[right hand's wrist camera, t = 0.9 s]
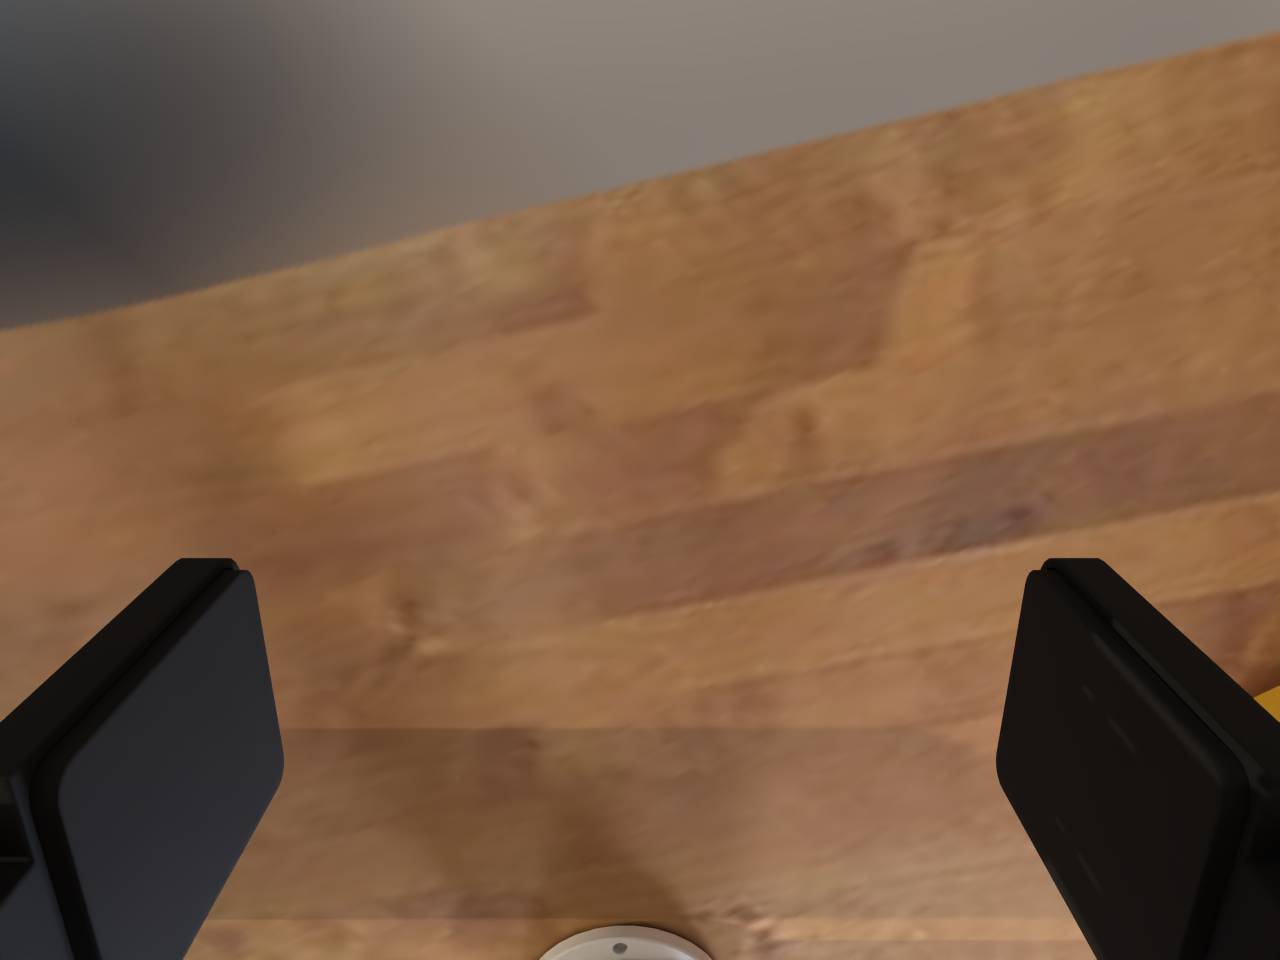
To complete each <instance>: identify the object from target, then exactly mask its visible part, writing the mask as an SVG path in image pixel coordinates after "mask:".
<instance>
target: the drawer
mask: <svg viewBox="0 0 1280 960" xmlns="http://www.w3.org/2000/svg"><path fill="white" fill-rule="evenodd" d="M1254 699H1255V700H1256V701H1257V702H1258V703H1259V704H1260V705H1261V706H1262V707H1263V708H1264V709H1266V710H1267V711H1268V712H1269V713H1270V714H1271V715H1272V716H1273V717H1274V718H1275V719H1276V720H1278V721H1279V722H1280V685H1279V686H1277V687H1275V688H1273V689H1271V690H1269V691H1267V692H1265V693H1263V694H1260V695H1258V696H1256V697H1254Z"/></svg>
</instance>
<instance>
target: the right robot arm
mask: <svg viewBox="0 0 1280 960" xmlns="http://www.w3.org/2000/svg"><path fill="white" fill-rule="evenodd" d="M283 768H284V755H283V748H282V742H281V736H280V730H279V724H278V718H277V713H276V707H275V701H274V695H273V689H272V683H271V677H270V671H269V665H268V660H267V654H266V648H265V642H264V636H263V630H262V624H261V618H260V613H259V607H258V601H257V595H256V589H255V584H254V580H253V577H252V575H251V573H250V572H249V571H247V570H239V567H238V566H237V564H236V562H235V561H234V560H232V559H231V558H181V559H179V560H178V561H176V562H175V563H174V564H173V565H171V566H170V567H169V568H168V569H167V570H166V571H165V572H164V573H163V574H162V575H161V576H159V577H158V578H157V579H156V580H155V581H154V582H153V583H152V584H151V585H150V586H149V587H147V588H146V589H145V590H144V591H143V592H142V593H141V594H140V595H139V596H138V597H137V598H135V599H134V600H133V601H132V602H131V603H130V604H129V605H128V606H127V607H126V608H125V609H124V610H122V611H121V612H120V613H119V614H118V615H117V616H116V617H115V618H114V619H113V620H112V621H110V622H109V623H108V624H107V625H106V626H105V627H104V628H103V629H102V630H101V631H100V632H98V633H97V634H96V635H95V636H94V637H93V638H92V639H91V640H90V641H89V642H88V643H86V644H85V645H84V646H83V647H82V648H81V649H80V650H79V651H78V652H77V653H76V654H74V655H73V656H72V657H71V658H70V659H69V660H68V661H67V662H66V663H65V664H64V665H62V666H61V667H60V668H59V669H58V670H57V671H56V672H55V673H54V674H53V675H52V676H50V677H49V678H48V679H47V680H46V681H45V682H44V683H43V684H42V685H41V686H40V687H38V688H37V689H36V690H35V691H34V692H33V693H32V694H31V695H30V696H29V697H28V698H26V699H25V700H24V701H23V702H22V703H21V704H20V705H19V706H18V707H17V708H16V709H14V710H13V711H12V712H11V713H10V714H9V715H8V716H7V717H6V718H5V719H4V720H2V721H1V722H0V960H183V958H184V956H185V955H186V953H187V951H188V949H189V947H190V946H191V944H192V942H193V940H194V938H195V937H196V935H197V933H198V931H199V929H200V928H201V926H202V924H203V922H204V920H205V919H206V917H207V915H208V913H209V911H210V910H211V908H212V906H213V904H214V902H215V901H216V899H217V897H218V895H219V893H220V892H221V890H222V888H223V886H224V884H225V883H226V881H227V879H228V877H229V875H230V874H231V872H232V870H233V868H234V866H235V865H236V863H237V861H238V859H239V857H240V856H241V854H242V852H243V850H244V848H245V847H246V845H247V843H248V841H249V839H250V838H251V836H252V834H253V832H254V830H255V829H256V827H257V825H258V823H259V821H260V820H261V818H262V816H263V814H264V812H265V811H266V809H267V807H268V805H269V803H270V802H271V800H272V798H273V796H274V794H275V793H276V791H277V789H278V787H279V784H280V782H281V778H282V775H283ZM996 768H997V775H998V778H999V782H1000V784H1001V787H1002V789H1003V791H1004V793H1005V794H1006V796H1007V798H1008V800H1009V802H1010V803H1011V805H1012V807H1013V809H1014V811H1015V812H1016V814H1017V816H1018V818H1019V820H1020V821H1021V823H1022V825H1023V827H1024V829H1025V830H1026V832H1027V834H1028V836H1029V838H1030V839H1031V841H1032V843H1033V845H1034V847H1035V848H1036V850H1037V852H1038V854H1039V856H1040V857H1041V859H1042V861H1043V863H1044V865H1045V866H1046V868H1047V870H1048V872H1049V874H1050V875H1051V877H1052V879H1053V881H1054V883H1055V884H1056V886H1057V888H1058V890H1059V892H1060V893H1061V895H1062V897H1063V899H1064V901H1065V902H1066V904H1067V906H1068V908H1069V910H1070V911H1071V913H1072V915H1073V917H1074V919H1075V920H1076V922H1077V924H1078V926H1079V928H1080V929H1081V931H1082V933H1083V935H1084V937H1085V938H1086V940H1087V942H1088V944H1089V946H1090V947H1091V949H1092V951H1093V953H1094V955H1095V956H1096V958H1097V960H1280V722H1279V721H1278V720H1276V719H1275V718H1274V717H1273V716H1272V715H1271V714H1270V713H1269V712H1268V711H1267V710H1266V709H1264V708H1263V707H1262V706H1261V705H1260V704H1259V703H1258V702H1257V701H1256V700H1255V699H1254V698H1252V697H1251V696H1250V695H1249V694H1248V693H1247V692H1246V691H1245V690H1244V689H1243V688H1242V687H1240V686H1239V685H1238V684H1237V683H1236V682H1235V681H1234V680H1233V679H1232V678H1231V677H1230V676H1228V675H1227V674H1226V673H1225V672H1224V671H1223V670H1222V669H1221V668H1220V667H1219V666H1218V665H1216V664H1215V663H1214V662H1213V661H1212V660H1211V659H1210V658H1209V657H1208V656H1207V655H1206V654H1204V653H1203V652H1202V651H1201V650H1200V649H1199V648H1198V647H1197V646H1196V645H1195V644H1194V643H1192V642H1191V641H1190V640H1189V639H1188V638H1187V637H1186V636H1185V635H1184V634H1183V633H1182V632H1180V631H1179V630H1178V629H1177V628H1176V627H1175V626H1174V625H1173V624H1172V623H1171V622H1170V621H1168V620H1167V619H1166V618H1165V617H1164V616H1163V615H1162V614H1161V613H1160V612H1159V611H1158V610H1156V609H1155V608H1154V607H1153V606H1152V605H1151V604H1150V603H1149V602H1148V601H1147V600H1146V599H1144V598H1143V597H1142V596H1141V595H1140V594H1139V593H1138V592H1137V591H1136V590H1135V589H1134V588H1133V587H1131V586H1130V585H1129V584H1128V583H1127V582H1126V581H1125V580H1124V579H1123V578H1122V577H1121V576H1119V575H1118V574H1117V573H1116V572H1115V571H1114V570H1113V569H1112V568H1111V567H1110V566H1109V565H1107V564H1106V563H1105V562H1104V561H1102V560H1101V559H1099V558H1049V559H1048V560H1046V561H1045V562H1044V564H1043V566H1042V567H1041V570H1033V571H1031V572H1030V573H1029V575H1028V577H1027V580H1026V584H1025V589H1024V595H1023V601H1022V607H1021V613H1020V618H1019V624H1018V630H1017V636H1016V642H1015V648H1014V654H1013V660H1012V665H1011V671H1010V677H1009V683H1008V689H1007V695H1006V701H1005V707H1004V713H1003V718H1002V724H1001V730H1000V736H999V742H998V748H997V755H996ZM540 960H712V959H711V958H710V957H709V956H708V955H707V954H706V953H705V952H704V951H702V950H701V949H700V948H698V947H697V946H695V945H694V944H693V943H691V942H689V941H687V940H685V939H683V938H681V937H679V936H677V935H675V934H672V933H668V932H665V931H662V930H658V929H655V928H648V927H641V926H610V927H603V928H596V929H592V930H589V931H586V932H583V933H579V934H576V935H574V936H572V937H570V938H568V939H566V940H564V941H562V942H560V943H558V944H557V945H556V946H554V947H553V948H552V949H550V950H549V951H548V952H546V953H545V954H544V955H543V956H542V957H541V958H540Z"/></svg>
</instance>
